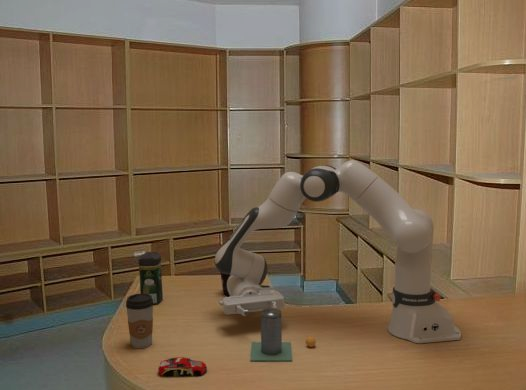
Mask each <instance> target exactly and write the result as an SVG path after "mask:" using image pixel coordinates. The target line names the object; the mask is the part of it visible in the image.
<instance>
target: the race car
mask: <svg viewBox="0 0 526 390" xmlns="http://www.w3.org/2000/svg"><path fill="white" fill-rule="evenodd" d="M157 370H158V375H159V376H162V377H166V378H171V377H189V376H190V377H193V376H194V377H200V376H201V375H202V376H203V375H204V374H205V373H207V371H208V366H207V364H206V363H205V362H203V361H200V360H193V359H191V358H190V357H189V358H188V357H185V356H184V357H183V356H181V357H179V356H177V357H171V358H168V359H164V360H162V361H160V363H159V366H158V369H157Z"/></svg>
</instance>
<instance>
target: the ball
mask: <svg viewBox="0 0 526 390" xmlns="http://www.w3.org/2000/svg"><path fill="white" fill-rule="evenodd" d="M316 342H317V340H316V338H314V337H313V336H308V337H307V338H306V339H305V345H306V346H307V347H308V348H309V347H310V348H313V347H314V346H316Z"/></svg>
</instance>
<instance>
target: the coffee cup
mask: <svg viewBox="0 0 526 390" xmlns="http://www.w3.org/2000/svg"><path fill="white" fill-rule="evenodd" d="M154 305H155V304H154V303H153V299H152V296H151V295H149V294H140V293H134V294H132V295H129V296H128V297H127V299H126V300H125V308H126V314H127V316H126V317H127V326H128V335H129V340H130V345H131V347H133V348H135V349H143V348H144V349H145V348H147V347H150V346H151V345H152V342H153V331H154V329H153V327H154V326H153V325H154V317H153V316H154Z"/></svg>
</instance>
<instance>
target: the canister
mask: <svg viewBox="0 0 526 390" xmlns="http://www.w3.org/2000/svg"><path fill="white" fill-rule="evenodd" d="M282 318H283V317H282V310H280V309H273V308H269V309H264V310H262V311H260V342H261V353H263V354H266V355H277V354H279V353H282V342H283V341H282V340H283V339H282V338H283V337H282V335H283V334H282V331H283V330H282V326H283V325H282Z"/></svg>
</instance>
